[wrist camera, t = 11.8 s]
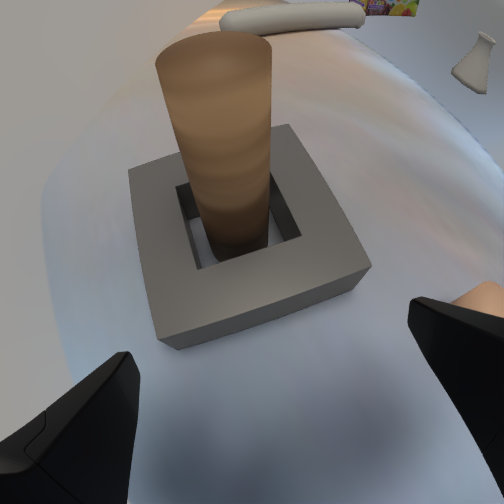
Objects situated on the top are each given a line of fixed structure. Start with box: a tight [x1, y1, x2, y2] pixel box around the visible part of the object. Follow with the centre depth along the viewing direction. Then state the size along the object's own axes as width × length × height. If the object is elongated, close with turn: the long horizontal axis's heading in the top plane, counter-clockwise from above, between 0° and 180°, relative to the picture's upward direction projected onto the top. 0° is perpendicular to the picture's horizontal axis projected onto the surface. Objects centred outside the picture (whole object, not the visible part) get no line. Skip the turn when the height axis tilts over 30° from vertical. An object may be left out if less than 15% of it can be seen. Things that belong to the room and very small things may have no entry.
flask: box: [451, 32, 496, 94], centre depth 28 cm, size 7×7×10 cm
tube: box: [219, 1, 366, 36], centre depth 36 cm, size 5×5×25 cm
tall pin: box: [155, 31, 272, 262], centre depth 15 cm, size 4×4×14 cm
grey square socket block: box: [128, 124, 372, 350], centre depth 19 cm, size 12×12×4 cm
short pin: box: [449, 281, 504, 318], centre depth 15 cm, size 4×4×5 cm
